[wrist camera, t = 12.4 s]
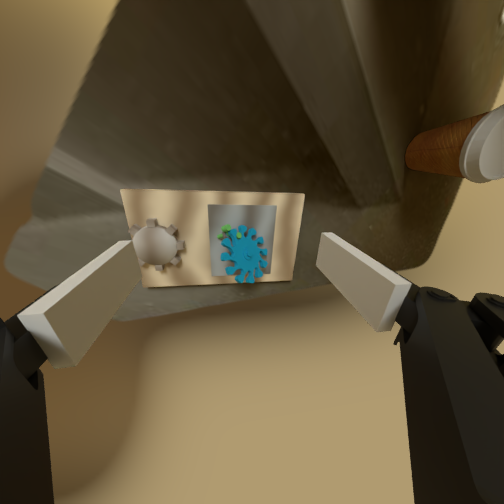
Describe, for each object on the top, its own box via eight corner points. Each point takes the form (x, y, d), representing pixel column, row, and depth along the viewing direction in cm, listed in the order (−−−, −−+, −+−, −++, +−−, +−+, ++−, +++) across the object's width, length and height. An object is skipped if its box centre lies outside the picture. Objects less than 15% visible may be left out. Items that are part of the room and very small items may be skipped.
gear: (277, 259, 35) (248, 297, 29) (256, 262, 40) (226, 295, 34) (249, 208, 32) (208, 238, 26) (229, 217, 36) (190, 245, 30)
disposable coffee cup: (455, 137, 34) (562, 123, 23) (418, 187, 37) (498, 195, 26) (422, 108, 31) (528, 78, 21) (386, 165, 34) (461, 163, 24)
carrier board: (301, 193, 34) (308, 195, 32) (289, 276, 42) (294, 284, 39) (120, 188, 30) (110, 190, 27) (143, 283, 37) (136, 292, 34)
